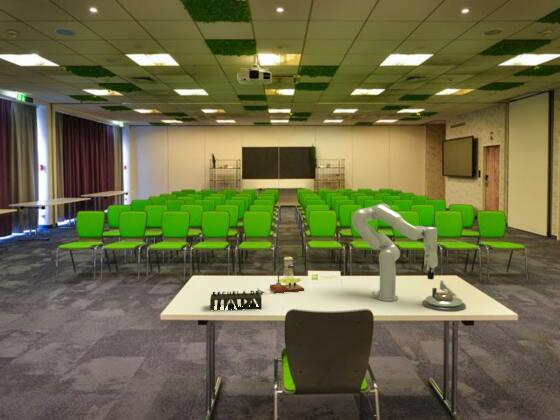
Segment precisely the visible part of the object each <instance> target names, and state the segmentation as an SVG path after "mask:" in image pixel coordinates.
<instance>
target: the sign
mask: <svg viewBox="0 0 560 420" xmlns="http://www.w3.org/2000/svg"><path fill="white" fill-rule="evenodd" d="M238 300H240V304H241V307H240V306H239V307H238V304H239V303H238ZM215 301H217V302H215ZM222 301H223V305H224V310H225V308H226V306H227V305H228V311H244V310H243V309H259V310H262V308H263V307H262V305H263V304H262V294H261V293H259V291H257V290H250V292H246V291H245V290H243V292H241V293H239V291H235V290H234V291H227V293H226V291H222V293H221V291H217V293H216V291H212V294H210V299H209V306H210V307H209V309H210V310H214V306H215V305H217V310H220V307H221V305H222ZM245 301H246V302H245ZM215 303H217V304H215ZM234 304H235V306H236V308H237V310H235V309H234ZM256 304H258V306H259V307H256ZM249 305H250V307H249ZM242 306H243V307H242ZM231 309H232V310H231Z"/></svg>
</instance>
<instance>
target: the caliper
mask: <svg viewBox="0 0 560 420" xmlns="http://www.w3.org/2000/svg"><path fill="white" fill-rule="evenodd" d="M439 289H440V290H446V291H447V292H452V294H453V297H457V294H456V293H455V292H454V291H453V290H451V288H449V287H448V286H447V284H445V282H444V280H443V279H441V280H440V282H439Z"/></svg>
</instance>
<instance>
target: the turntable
mask: <svg viewBox="0 0 560 420" xmlns="http://www.w3.org/2000/svg"><path fill="white" fill-rule="evenodd" d="M437 291H438V290H437V288H436V287H432V291H431V292H432V294H431V295H427V296H426V297H425V300H426V303H427V304H429V305H432V306H436V307H445V308H453V307H459V306H461V305H462V302H463V299H461V298H459V297H457V296H453V294H451V293H448V292H441V291H439V292H437Z"/></svg>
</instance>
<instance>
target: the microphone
mask: <svg viewBox="0 0 560 420" xmlns="http://www.w3.org/2000/svg"><path fill="white" fill-rule="evenodd" d="M285 268H287V269H289V270H292V269H294V268H295V265H294V264H288V265H287V266H283V267H281V268H280V269H279V270H278V272H277V282H276V283H275V284H270V285H269V289H271V290H270V291H271V292H270V294H272V293H274V292H275V293H274V294H276V293H282V294H285V293H284V292H293V293H300V292H299V291H304V292H305V287H303V286H301V285H299V284H297V282H293V284H292V283H291V282H288V284H282V283H281V282H280V272H281V271H282V270H283V269H285ZM272 290H273V291H272ZM256 291H259V293H261V295H263V294H266V292H265V291H262V290H261V289H259V288H257V290H256Z"/></svg>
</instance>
